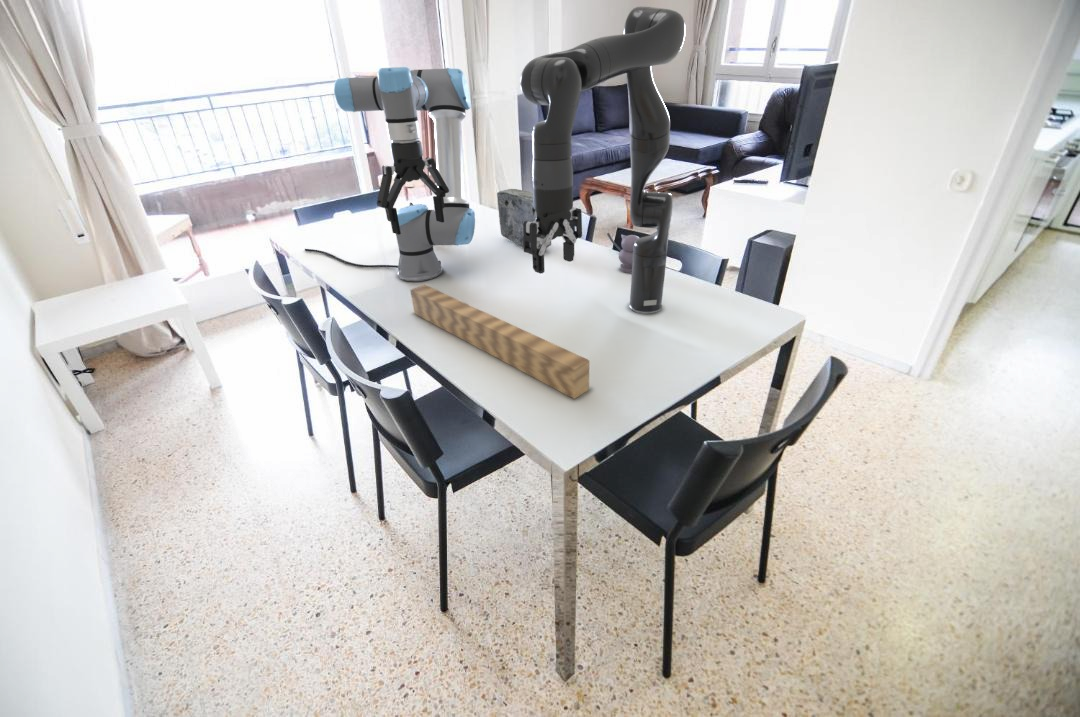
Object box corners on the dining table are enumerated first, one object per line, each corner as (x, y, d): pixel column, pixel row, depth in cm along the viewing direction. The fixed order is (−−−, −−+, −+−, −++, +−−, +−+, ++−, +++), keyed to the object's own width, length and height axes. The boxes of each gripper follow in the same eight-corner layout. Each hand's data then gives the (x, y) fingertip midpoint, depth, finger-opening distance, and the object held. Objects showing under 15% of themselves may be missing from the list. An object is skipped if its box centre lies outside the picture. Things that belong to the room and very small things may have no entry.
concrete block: (556, 252, 190) (555, 199, 179) (537, 257, 186) (535, 203, 175) (517, 236, 209) (515, 187, 198) (500, 240, 204) (496, 190, 194)
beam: (414, 313, 149) (410, 289, 145) (428, 308, 152) (424, 284, 148) (574, 399, 109) (574, 369, 105) (588, 389, 112) (589, 360, 108)
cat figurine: (646, 268, 173) (649, 234, 166) (634, 275, 168) (636, 240, 161) (626, 263, 178) (628, 230, 171) (613, 269, 173) (614, 236, 167)
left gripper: (365, 149, 111) (384, 241, 122) (455, 135, 126) (465, 219, 137) (350, 146, 116) (369, 235, 127) (438, 133, 130) (449, 214, 141)
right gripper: (539, 193, 85) (542, 281, 94) (593, 179, 94) (591, 260, 102) (510, 187, 90) (515, 272, 99) (563, 174, 98) (564, 253, 107)
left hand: (419, 227), depth 132 cm, fingers open, 13 cm apart
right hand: (554, 266), depth 100 cm, fingers open, 8 cm apart
